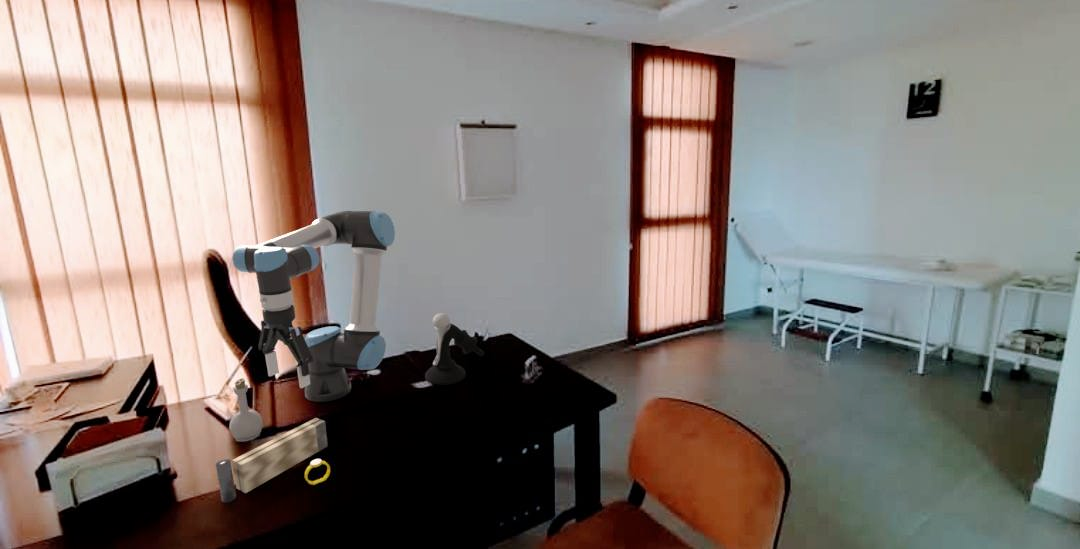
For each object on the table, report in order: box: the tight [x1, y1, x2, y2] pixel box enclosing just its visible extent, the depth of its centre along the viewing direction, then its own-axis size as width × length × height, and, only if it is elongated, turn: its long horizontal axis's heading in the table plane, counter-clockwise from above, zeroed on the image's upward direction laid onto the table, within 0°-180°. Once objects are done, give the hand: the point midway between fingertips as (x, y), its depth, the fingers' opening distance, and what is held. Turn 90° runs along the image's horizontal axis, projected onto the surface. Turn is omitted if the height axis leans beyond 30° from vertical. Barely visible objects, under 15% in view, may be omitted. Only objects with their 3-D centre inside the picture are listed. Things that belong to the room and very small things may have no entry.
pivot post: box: [215, 458, 237, 504], centre depth 124 cm, size 3×3×10 cm
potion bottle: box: [228, 377, 264, 443], centre depth 151 cm, size 9×9×18 cm
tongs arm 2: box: [238, 419, 329, 494], centre depth 137 cm, size 24×2×8 cm, turn 150°
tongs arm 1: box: [231, 417, 321, 491], centre depth 138 cm, size 24×2×8 cm, turn 150°
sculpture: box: [424, 312, 486, 386], centre depth 193 cm, size 15×24×25 cm, turn 120°
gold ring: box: [304, 458, 331, 486], centre depth 131 cm, size 6×3×6 cm, turn 129°
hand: (289, 380), depth 140 cm, fingers open, 13 cm apart
